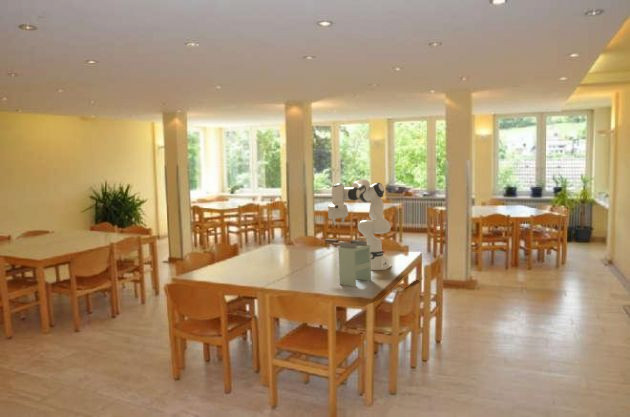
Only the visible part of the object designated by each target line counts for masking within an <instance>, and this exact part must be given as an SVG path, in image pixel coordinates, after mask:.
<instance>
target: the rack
mask: <svg viewBox="0 0 630 417" xmlns="http://www.w3.org/2000/svg"><path fill="white" fill-rule="evenodd" d="M357 239H358V240H357ZM357 239H356V240H355V239H351V240H350V242H353V244H351V243H340V246H338V247H337V248H338V267H339V268H338V273H339V274H338V275H339V285H344V286H350V287H356V286H357V280H362V281H368V282H371V281H372V270H371V256H370V245H369V244H367V240H366V237H365V236H358V237H357Z"/></svg>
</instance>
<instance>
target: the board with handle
mask: <svg viewBox="0 0 630 417" xmlns="http://www.w3.org/2000/svg"><path fill="white" fill-rule="evenodd" d="M340 243H351V244H353V242H351V241H344V240H340V241H339V239H334V238H325V239H324V244H327V245H332V246H336V247H337V246H338V247H340Z"/></svg>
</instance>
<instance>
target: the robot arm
mask: <svg viewBox="0 0 630 417" xmlns="http://www.w3.org/2000/svg"><path fill="white" fill-rule="evenodd" d="M384 194H385V187H384V185H383V184H382V183H381V182H376V183H373V184H371V183H370V182H369V179H365V178H362V179H358V180H355V181H354V182H352V184H351V186H350V187H344V186H343V184H342V183H334V184H333V185H332V187H331V198H332V200H331V203H330V204H329V205H328V206H327V215H328V216H327V217H328V219H329V220H332V223H333V225H334V226H335V225H337V221H336V219H341V220H340V223H341V224H345V219H346V218H347V217H348V216H349V209H348V206H347V205H346V204H345V201H354V202H355V201H357V200H359V199H360V200H361V201H362V202H363V203H368V202H370V206H369V213H368V216H369V219H363V220H360V221H359V222H358V224H357V230H358V232H359V233H361V235H363V237H366V240H367V244H369V245H370V256H371V271H384V270H385V271H386V270H387V269H389V268H391V267H393V265H392V264H390V263H389V258H388V257H387V256H385V255H384V254H385V253H386V251H385V250H383V245H382V244H383V243H382V242H383V241H382V240H381V239H380V238H379V237H376V236H375V235H376V234H377V235H378V234H382V235H383V234H386V233H389V232H390V231H391V228H392V227H391V222H390V221H389V220H388V219H386V218H385V217H384V200H383V199H382V198H383V197H384Z"/></svg>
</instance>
